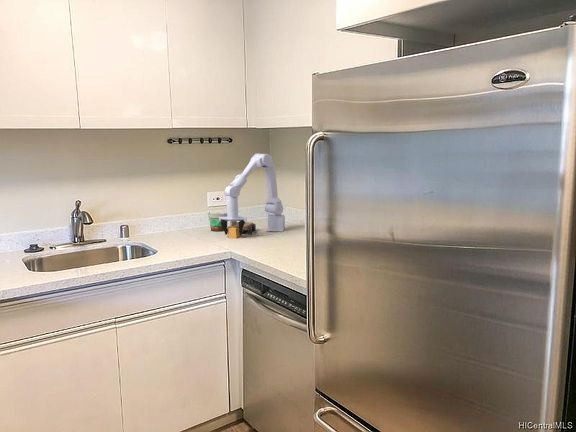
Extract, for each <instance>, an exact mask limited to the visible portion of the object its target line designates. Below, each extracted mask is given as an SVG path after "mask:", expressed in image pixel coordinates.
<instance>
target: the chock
mask: <svg viewBox="0 0 576 432" xmlns="http://www.w3.org/2000/svg"><path fill="white" fill-rule="evenodd" d="M240 236H241V235H239V229H237V228H234V227H230V228H229V234H228V239H237V238H239V237H240Z"/></svg>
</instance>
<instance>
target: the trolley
mask: <svg viewBox="0 0 576 432" xmlns="http://www.w3.org/2000/svg"><path fill="white" fill-rule="evenodd" d="M229 222H230V223H229V224H230V226H228V225H227V231H228V234H227V235H229V228H230V227H234V228H237V229H238V230H239V224H238V222H239V221H229ZM256 226H257V225H256V223H254V222H247V221H245V224H244V226H243V229H242V232H247V235H252V234H253V233H252V232H253V231H254V232H255V231H256V229H257V227H256Z"/></svg>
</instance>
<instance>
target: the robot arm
mask: <svg viewBox="0 0 576 432" xmlns="http://www.w3.org/2000/svg"><path fill="white" fill-rule="evenodd" d="M257 168H261V169H263V170H265V179H266V180H265V181H266V191H267V199H266V200H265V206H264V211H265V212H266V213H267V229H266V230H265V231H266V232H284V231H285V230H286V220H285V219H286V218H285V217H286V216H285V214H283V213H284V206H283V204H282V200H281V199H280V197H279V195H278V185H277V173H276V165H275V163H274V161H273V156H272V155H270V154H269V153H254V155H253V156H251V158H250V161H249V163H248V164H247V165H246V167H245V168H244V170H243V171H242V173H240V174H238V175H235V176H234V178H235V179H234V180H233V181H232V182H230V183H229V185H228V186H226V187H225V188H224V191H223V194H224V196H225V198H226V213H227V217H219V221H221V222H220V223H221V225H222V227H223V229H224V231H223V232H224V235H225V236H226V235H229V234H228V222H230V221H237V222H238V224H239V229H238V230H239V235H240V236H241V235H242V232H243V231H242V230H244V229H243V226H244V224H245V222H247V221H248V217H246V216H239V203H238V199H239V196H240V194H241V190H242V188H243V187H244V186H245V184H246V183H247V181H248V179H247V178H248V177H249V176H250V175H251V174H252V173H253V172H254V171H255V170H256V169H257Z"/></svg>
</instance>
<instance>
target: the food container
mask: <svg viewBox="0 0 576 432" xmlns="http://www.w3.org/2000/svg"><path fill="white" fill-rule="evenodd" d="M207 217H208V218H209V227H210V231H211V232H216V233H218V232H224V229H223V227H222V225H221V223H220V222H221V221H219V217H227V212H226V213H211V212H208V215H207Z"/></svg>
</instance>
